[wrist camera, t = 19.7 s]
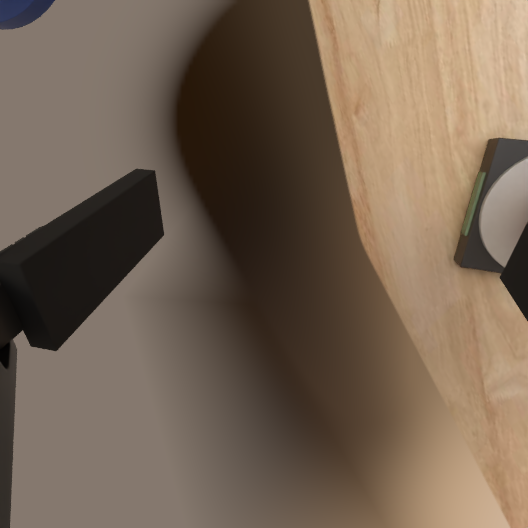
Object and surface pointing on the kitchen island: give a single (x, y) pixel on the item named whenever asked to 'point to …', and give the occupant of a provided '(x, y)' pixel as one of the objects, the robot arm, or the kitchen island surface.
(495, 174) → the kitchen scale
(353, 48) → the kitchen island surface
